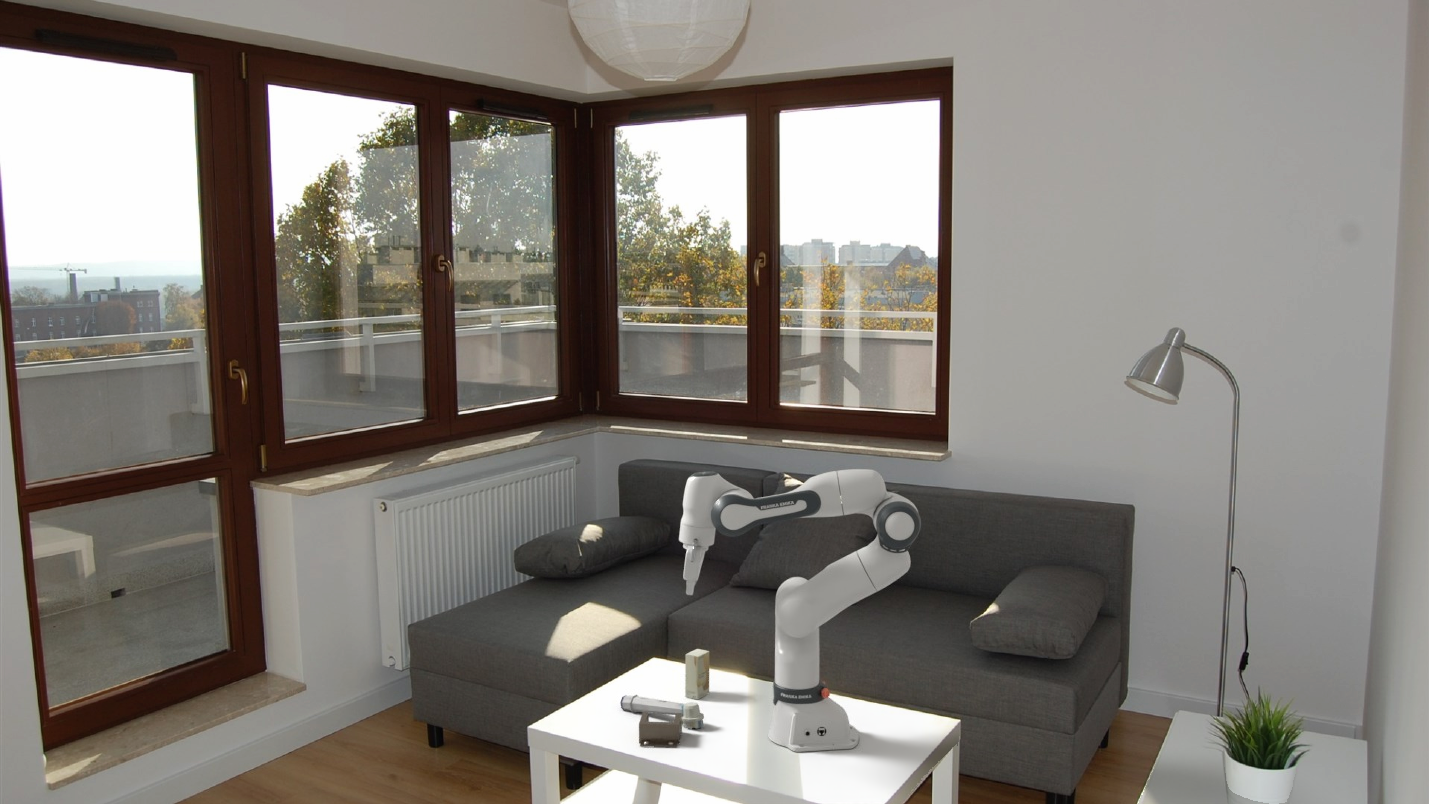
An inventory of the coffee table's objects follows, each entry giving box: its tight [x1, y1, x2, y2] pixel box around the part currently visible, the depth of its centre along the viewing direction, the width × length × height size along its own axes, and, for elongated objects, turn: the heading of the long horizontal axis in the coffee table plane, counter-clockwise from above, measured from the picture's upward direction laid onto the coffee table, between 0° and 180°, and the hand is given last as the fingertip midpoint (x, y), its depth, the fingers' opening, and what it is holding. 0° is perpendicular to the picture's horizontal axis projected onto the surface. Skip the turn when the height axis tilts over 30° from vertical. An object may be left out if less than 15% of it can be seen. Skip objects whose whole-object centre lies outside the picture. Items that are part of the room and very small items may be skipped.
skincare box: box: [684, 648, 710, 700], centre depth 297 cm, size 6×4×12 cm
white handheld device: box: [619, 694, 705, 730], centre depth 281 cm, size 5×7×25 cm
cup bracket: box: [638, 712, 683, 749], centre depth 268 cm, size 10×10×5 cm
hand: (690, 589), depth 269 cm, fingers open, 8 cm apart
